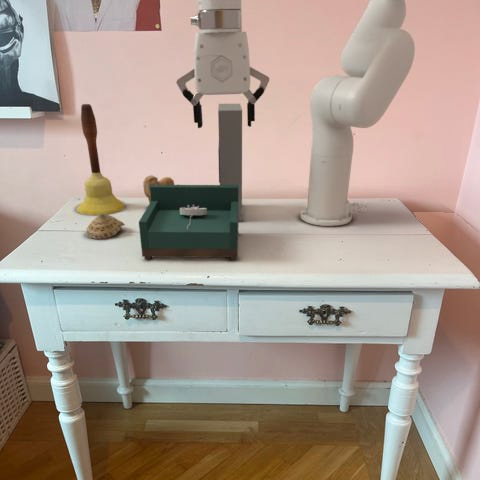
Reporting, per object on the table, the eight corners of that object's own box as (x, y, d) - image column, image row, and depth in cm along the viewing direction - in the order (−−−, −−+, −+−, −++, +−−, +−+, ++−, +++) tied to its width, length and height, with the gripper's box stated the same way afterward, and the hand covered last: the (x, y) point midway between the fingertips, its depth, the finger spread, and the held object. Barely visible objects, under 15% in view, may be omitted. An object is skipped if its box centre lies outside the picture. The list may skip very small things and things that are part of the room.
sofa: (238, 233, 109) (238, 185, 104) (237, 260, 96) (237, 206, 90) (155, 232, 110) (151, 184, 104) (142, 260, 96) (136, 206, 90)
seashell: (132, 219, 111) (110, 215, 104) (129, 243, 112) (107, 241, 105) (103, 214, 114) (80, 210, 107) (100, 238, 115) (77, 235, 107)
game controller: (204, 211, 104) (204, 199, 103) (215, 229, 94) (215, 216, 93) (178, 213, 103) (177, 201, 101) (187, 231, 93) (186, 218, 92)
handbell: (79, 202, 131) (63, 102, 118) (126, 200, 132) (114, 101, 120) (74, 216, 120) (54, 108, 107) (124, 213, 122) (110, 107, 109)
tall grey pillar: (217, 205, 128) (215, 103, 116) (240, 205, 129) (240, 103, 116) (217, 221, 116) (214, 110, 104) (242, 221, 117) (242, 110, 104)
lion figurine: (159, 214, 122) (156, 178, 117) (140, 212, 123) (137, 176, 118) (182, 198, 134) (180, 165, 129) (165, 196, 135) (162, 164, 130)
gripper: (168, 24, 81) (178, 130, 90) (270, 21, 81) (270, 128, 90) (174, 24, 88) (182, 124, 97) (268, 21, 87) (268, 121, 96)
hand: (224, 126), depth 93 cm, fingers open, 9 cm apart
